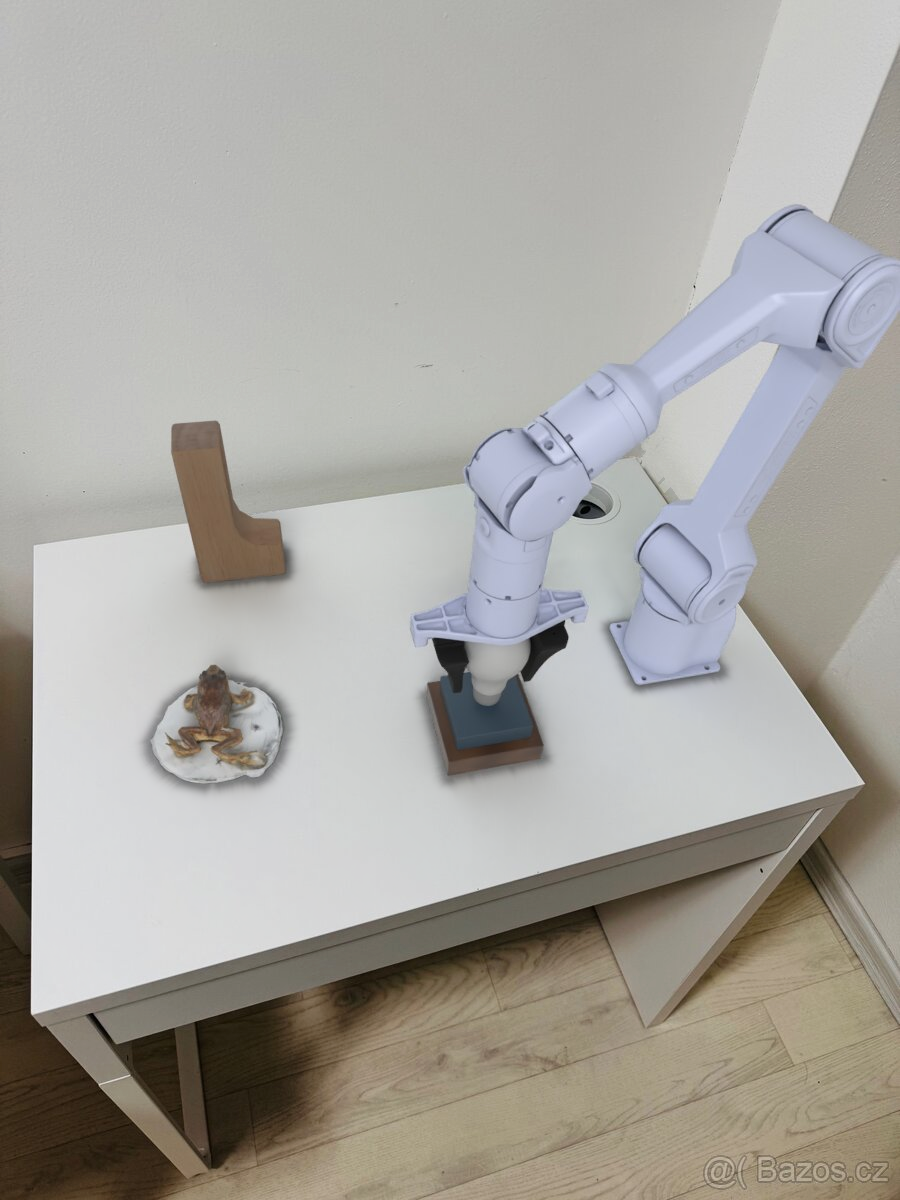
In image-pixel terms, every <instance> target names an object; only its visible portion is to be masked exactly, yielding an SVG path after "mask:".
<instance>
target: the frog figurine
mask: <svg viewBox="0 0 900 1200" xmlns="http://www.w3.org/2000/svg"><path fill="white" fill-rule="evenodd" d="M198 678H199V679H198V683H197V685H195V686H194V687H191V688H189V689H187V691H185V692H184V693H183V694H181V695H179V697H177V699H176V700H175V701H173V702H172V703H171V704H169V705H168V706H167V708H166V711H165V713H164V715H163V718H162V719H161V721H160V722H159V724H158V725H157V726H156V731H154V735H153V737H152V738H150V740H149V742H150V744H151V749H152V753H153V756H155V758H156V759H157V760H158V762H159V764H160V766H161V767H163V769H165V771H167V772H168V773H170V774H173V775H174V776H175V777H177V778H179V779H180V780H183V781H185V782H191V783H196V784H203V785H204V784H205V785H206V784H211V783H213V784H215V783H222V782H228V781H232V780H235V779H238V778H240V777H242V776H243V777H244V776H247V777H249V778H259V777H261V776H262V775H263V774H264V773H265V771H266V770H267V769H268V768H269V767H271V765H272V764H273V763H274V761H275V759H276V758H277V755H278V752H279V750H280V745H281V741H282V736H283V732H284V728H283V721H282V713H280V711H279V710H278V705H277V704H276V703H275V701H274V700H273V699H272V698H271V697H270V696H269V695H268V694H267V693H266V692H265V691H263V690H261V689H260V688H258V687H256V686H253V687H249V686H246V685H245V684H247V685H248V683H247V682H242V681H235V680H233V679H229V678H228V676H227V672H226V671H225V670H223V669H222V668H221V667H220V666H218V665H217V664H210V665H209V666H208V667H207V669H206V670H202V672H201V673H200V674H199V676H198ZM238 683H240V684H238Z"/></svg>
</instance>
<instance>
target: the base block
mask: <svg viewBox="0 0 900 1200" xmlns="http://www.w3.org/2000/svg"><path fill="white" fill-rule="evenodd" d="M515 677H516V679H517V682H518V685H519V688H520V690H521V693H522V696H523V699H524V702H525V704H526V707H527V710H528V713H529V716H530V718H531V721H532V724H533V728H532V732H531V736H530V738H524V739H519V740H513V741H507V742H502V743H496V744H491V745H485V746H479V747H474V748H468V749H462V750H457V749H456V745H455V742H454V738H453V735H452V731H451V728H450V724H449V721H448V717H447V714H446V710H445V706H444V703H443V699H442V696H441V692H440V680H434V681H430V682H427V683H426V695H425V697H426V702H427V706H428V709H429V712H430V715H431V716H430V717H431V720H432V724H433V727H434V731H435V735H436V738H437V742H438V747H439V750H440V754H441V757H442V762H443V765H444V769H445V773H446V776H449V777H450V776H454V775H459V774H466V773H470V772H476V771H482V770H487V769H493V768H497V767H498V768H499V767H504V766H509V765H515V764H519V763H526V762H531V761H537V760H540V759H541V757H542V753H543V750H544V747H545V744H544V742H543V739H542V736H541V733H540V730H539V728H538V725H537V723H536V719H535V717H534V714H533V711H532V709H531V706H530V703H529V700H528V698H527V695H526V691H525V689H524V685H523V683H522V681H521V678H520V675H519V673H518V674H516V675H515Z"/></svg>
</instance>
